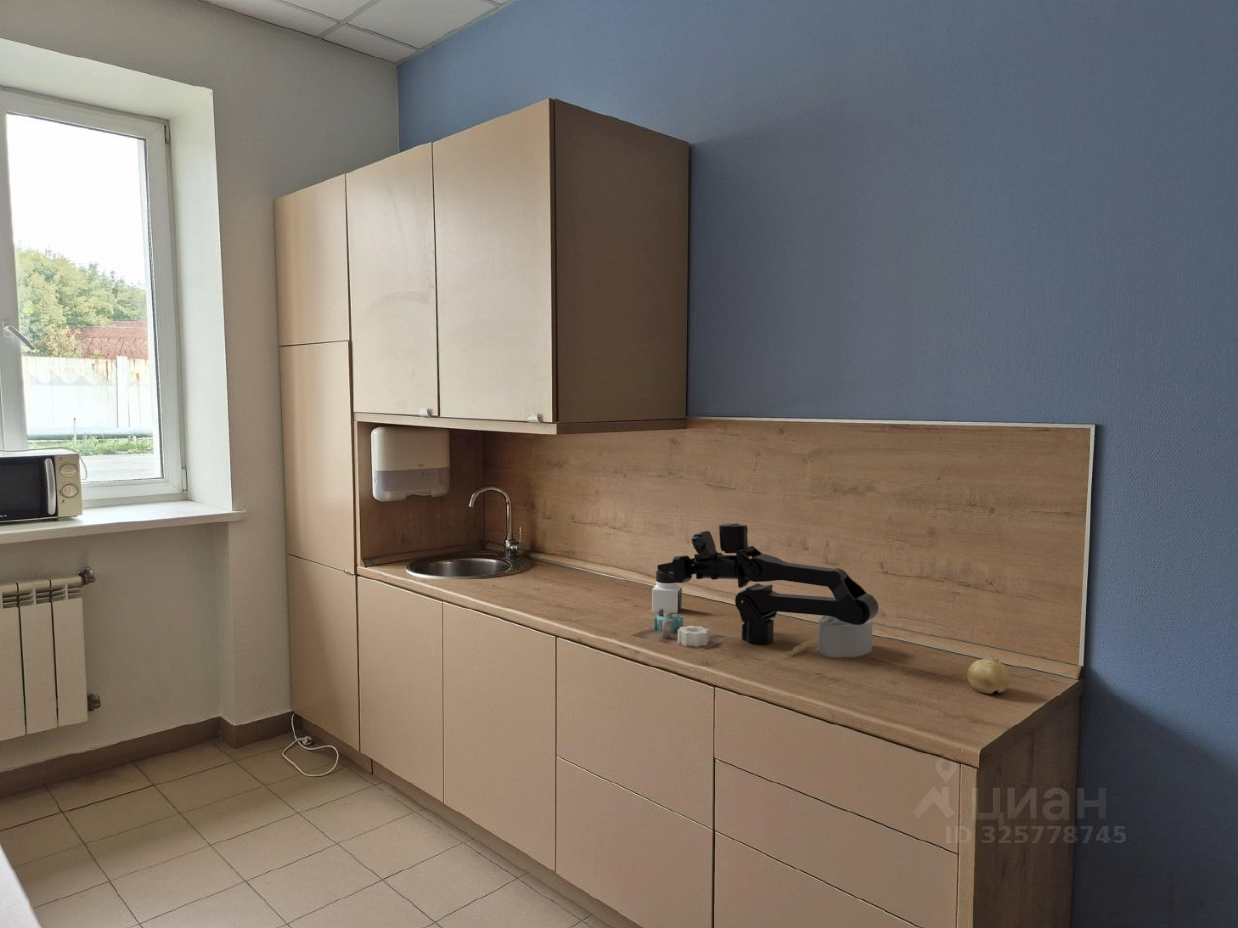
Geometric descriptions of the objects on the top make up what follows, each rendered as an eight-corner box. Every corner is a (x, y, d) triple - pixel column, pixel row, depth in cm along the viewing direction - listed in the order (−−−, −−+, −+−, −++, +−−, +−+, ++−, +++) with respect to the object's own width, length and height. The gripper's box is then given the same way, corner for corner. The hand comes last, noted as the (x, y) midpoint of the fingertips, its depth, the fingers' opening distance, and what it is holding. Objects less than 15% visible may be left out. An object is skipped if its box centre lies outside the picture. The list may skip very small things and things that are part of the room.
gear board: (731, 641, 204) (732, 620, 204) (701, 654, 193) (701, 633, 193) (662, 627, 216) (663, 607, 216) (630, 639, 205) (630, 618, 205)
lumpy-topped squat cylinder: (877, 650, 198) (879, 614, 197) (843, 661, 190) (844, 622, 189) (840, 640, 206) (841, 605, 206) (806, 650, 198) (807, 613, 197)
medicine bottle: (678, 616, 227) (678, 572, 226) (651, 615, 228) (652, 571, 227) (681, 610, 234) (682, 567, 233) (655, 608, 235) (656, 565, 234)
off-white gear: (714, 641, 200) (714, 629, 200) (698, 648, 195) (698, 635, 194) (688, 636, 205) (688, 623, 204) (671, 642, 199) (671, 630, 199)
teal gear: (688, 628, 212) (688, 610, 211) (672, 634, 206) (672, 615, 205) (664, 623, 216) (664, 605, 216) (647, 629, 210) (648, 611, 210)
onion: (1010, 700, 166) (1011, 664, 165) (966, 694, 169) (967, 659, 169) (1008, 687, 173) (1010, 653, 173) (966, 682, 176) (968, 648, 176)
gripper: (738, 530, 213) (684, 530, 222) (702, 536, 198) (646, 535, 207) (740, 575, 213) (686, 573, 222) (704, 584, 197) (647, 581, 206)
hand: (667, 565), depth 214 cm, fingers open, 9 cm apart
